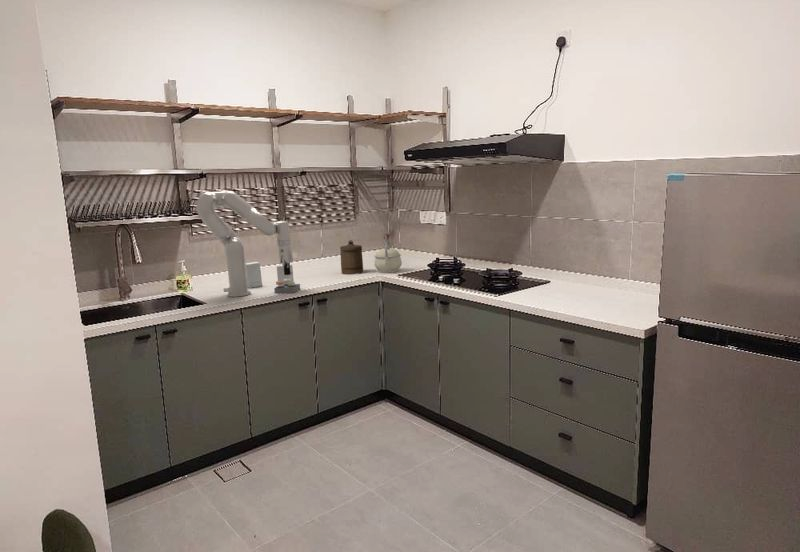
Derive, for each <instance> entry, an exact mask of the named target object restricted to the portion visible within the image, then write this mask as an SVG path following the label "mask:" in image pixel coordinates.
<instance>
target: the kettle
mask: <svg viewBox="0 0 800 552" xmlns="http://www.w3.org/2000/svg"><path fill="white" fill-rule="evenodd" d="M389 237H390V234H389V233H385V235H384V236H383V238H384V248H383V249H379V250H378V251H377V252H376V254H375V255H374V258H375V259H374V266H375V269H376V270H377V272H378V273H380V272H381V274H391V273H392V272H393V273H397V272H399V271H400V268H401V267H402V263H403V262H402V259H401V255H402V254H401V253H399V251H398V250H397V249H394V248H391V247H390V241H389Z"/></svg>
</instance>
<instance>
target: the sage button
mask: <svg viewBox="0 0 800 552" xmlns="http://www.w3.org/2000/svg"><path fill="white" fill-rule="evenodd" d="M295 284H296V282H295V281H294V282H288V286H294V285H295Z"/></svg>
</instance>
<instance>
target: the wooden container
mask: <svg viewBox="0 0 800 552" xmlns="http://www.w3.org/2000/svg"><path fill="white" fill-rule="evenodd" d="M347 243H348V244H347V245H342V246H340V247H339V249H340V268H341V274H343V275H358V274H362V273H364V261H363V260H364V259H363V251H362V250H363V249H362V247H363V246H362V244H354V241H353V239H352V240H348V242H347ZM357 273H358V274H357Z"/></svg>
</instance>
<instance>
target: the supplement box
mask: <svg viewBox="0 0 800 552" xmlns="http://www.w3.org/2000/svg"><path fill="white" fill-rule="evenodd" d="M290 273H291V274H290V275H284V268H283V266H282V264H280V265H277V266H276V275H277V276H276V277H277V281H283V284H288V282H287V283H284V279H291V282H295V281H294V269H293V264H292V263H290ZM277 286H280V285H277Z"/></svg>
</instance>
